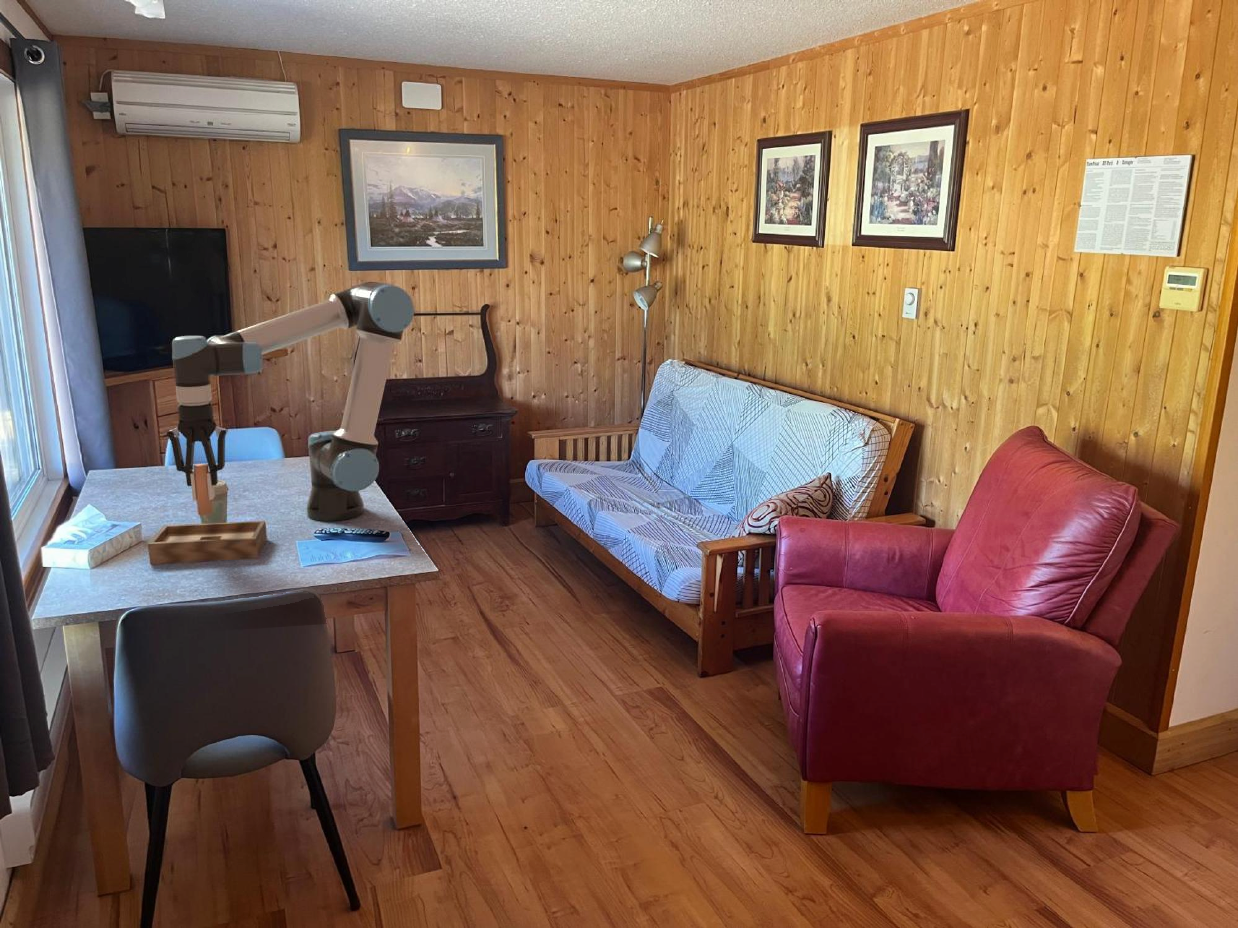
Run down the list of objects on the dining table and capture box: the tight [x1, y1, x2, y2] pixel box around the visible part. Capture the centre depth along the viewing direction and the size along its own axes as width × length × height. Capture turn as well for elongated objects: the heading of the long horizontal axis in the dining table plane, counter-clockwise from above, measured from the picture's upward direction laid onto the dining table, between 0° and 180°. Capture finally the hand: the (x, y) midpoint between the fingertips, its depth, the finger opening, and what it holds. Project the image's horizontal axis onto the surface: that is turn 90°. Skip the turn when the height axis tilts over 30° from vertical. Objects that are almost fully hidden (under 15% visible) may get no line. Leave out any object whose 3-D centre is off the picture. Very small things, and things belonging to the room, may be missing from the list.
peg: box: [193, 463, 212, 516], centre depth 229 cm, size 3×3×12 cm
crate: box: [147, 520, 268, 565], centre depth 232 cm, size 24×14×5 cm, turn 101°
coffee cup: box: [195, 479, 229, 524], centre depth 249 cm, size 8×8×12 cm
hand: (203, 498), depth 229 cm, fingers closed on peg, 3 cm apart
